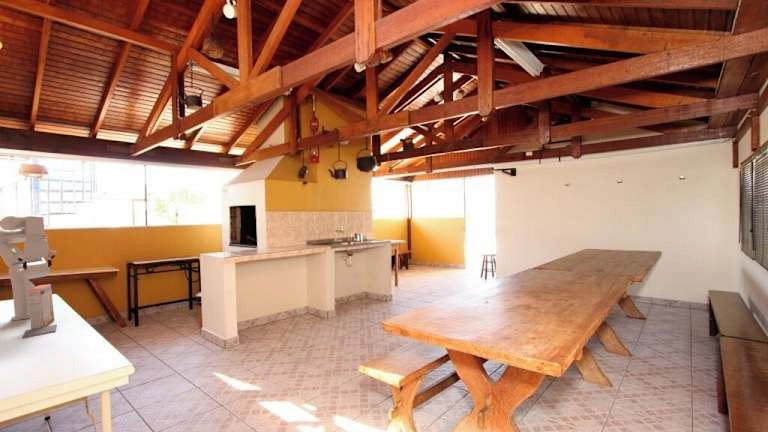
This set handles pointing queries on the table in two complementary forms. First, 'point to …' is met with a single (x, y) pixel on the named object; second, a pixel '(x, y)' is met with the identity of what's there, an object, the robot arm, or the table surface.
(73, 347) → the table surface
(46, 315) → the cracker box
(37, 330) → the mat
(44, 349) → the table surface
